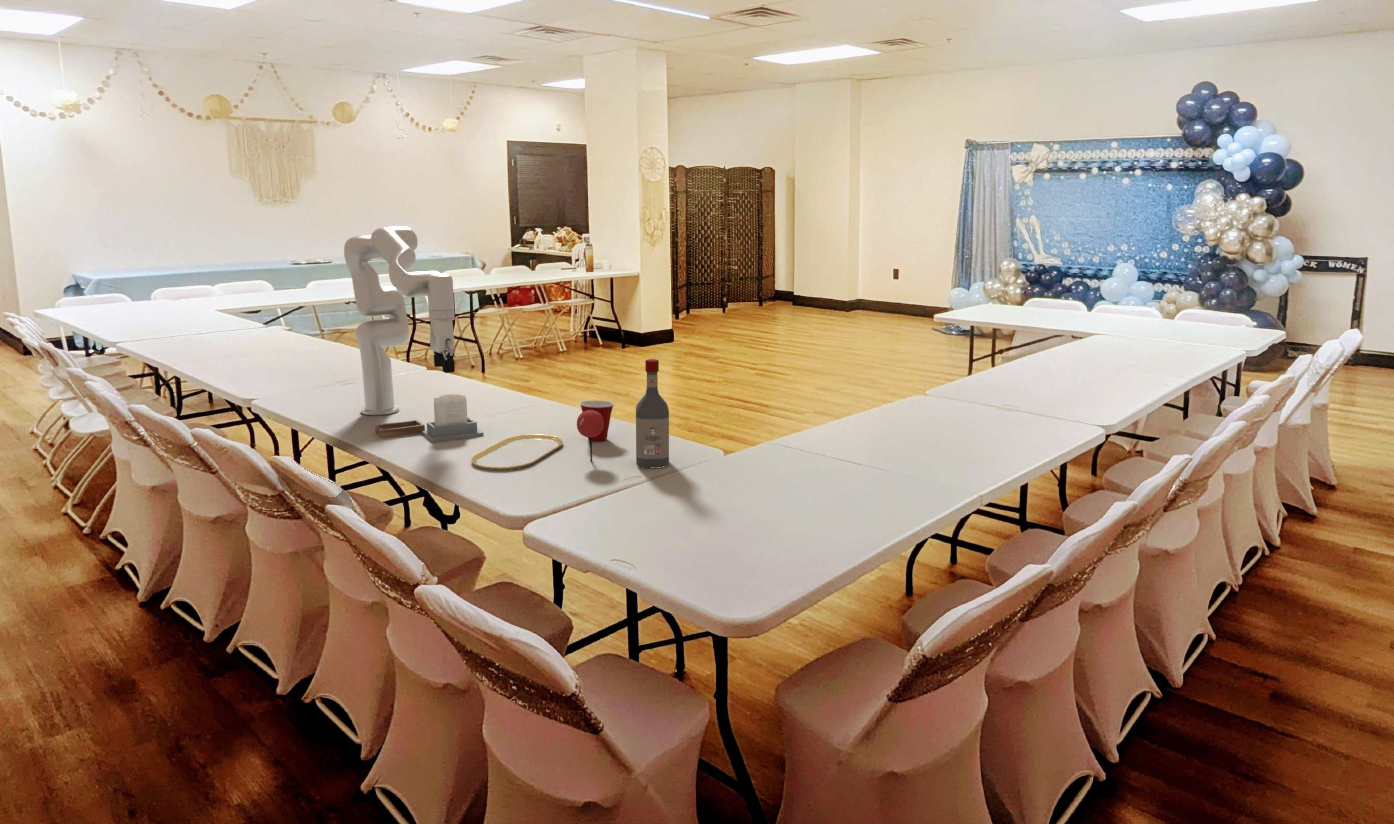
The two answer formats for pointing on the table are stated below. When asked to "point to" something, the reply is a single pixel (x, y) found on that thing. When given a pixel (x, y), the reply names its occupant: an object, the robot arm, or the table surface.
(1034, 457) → the table surface
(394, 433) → the wooden picture frame
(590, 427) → the lollipop
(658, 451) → the liquor
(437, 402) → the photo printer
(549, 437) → the gold oval ring
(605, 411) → the plastic cup
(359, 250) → the robot arm
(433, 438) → the docking base
